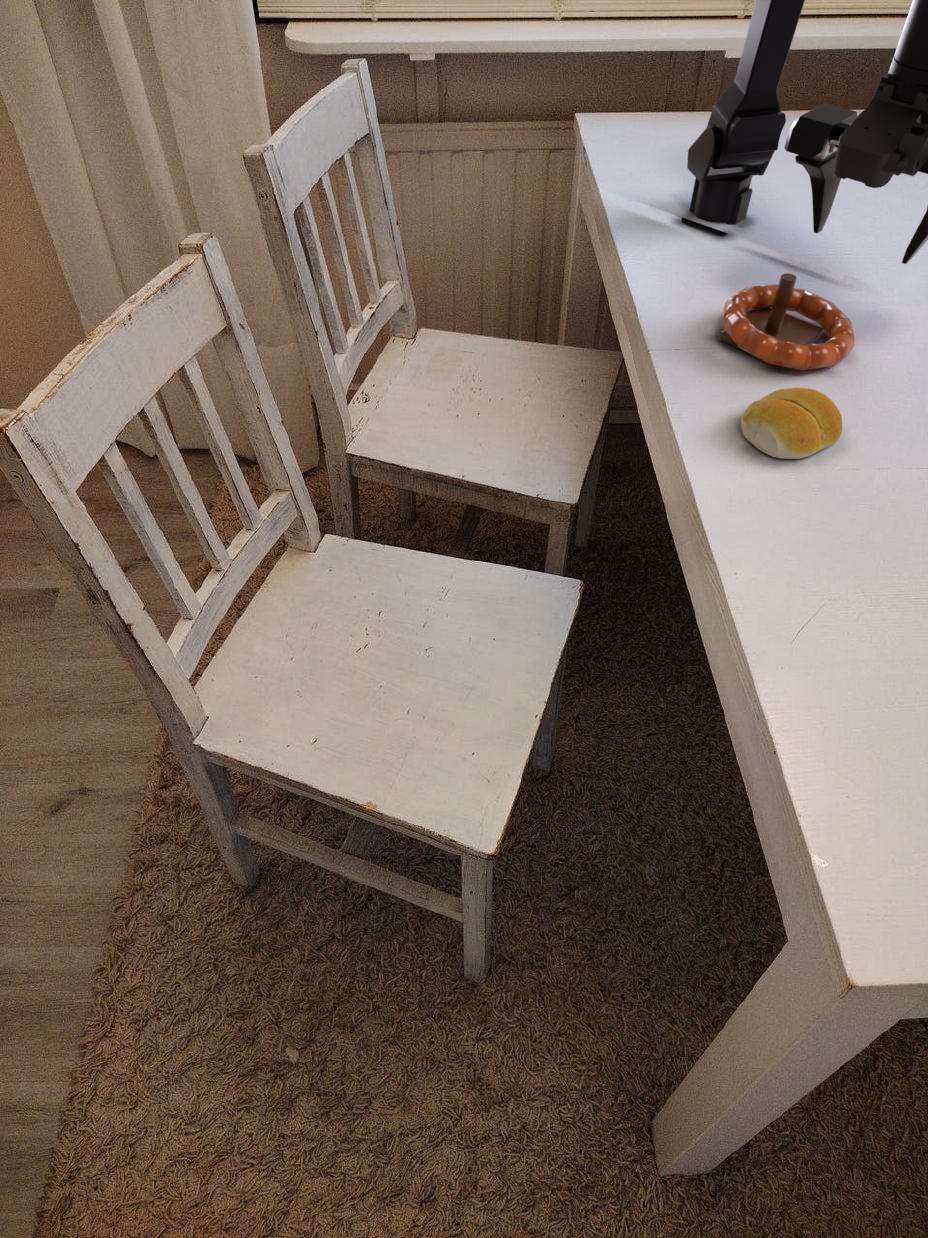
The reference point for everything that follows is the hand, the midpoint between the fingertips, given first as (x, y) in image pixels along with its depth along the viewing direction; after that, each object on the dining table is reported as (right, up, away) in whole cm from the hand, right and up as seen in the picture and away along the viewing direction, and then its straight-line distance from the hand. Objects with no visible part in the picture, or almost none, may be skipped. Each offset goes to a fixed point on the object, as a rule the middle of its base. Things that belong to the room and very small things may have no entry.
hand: (860, 246), depth 78 cm
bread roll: (-8, -19, -1) cm, 21 cm away
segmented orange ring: (-4, -5, +7) cm, 10 cm away
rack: (-5, -6, +9) cm, 12 cm away
